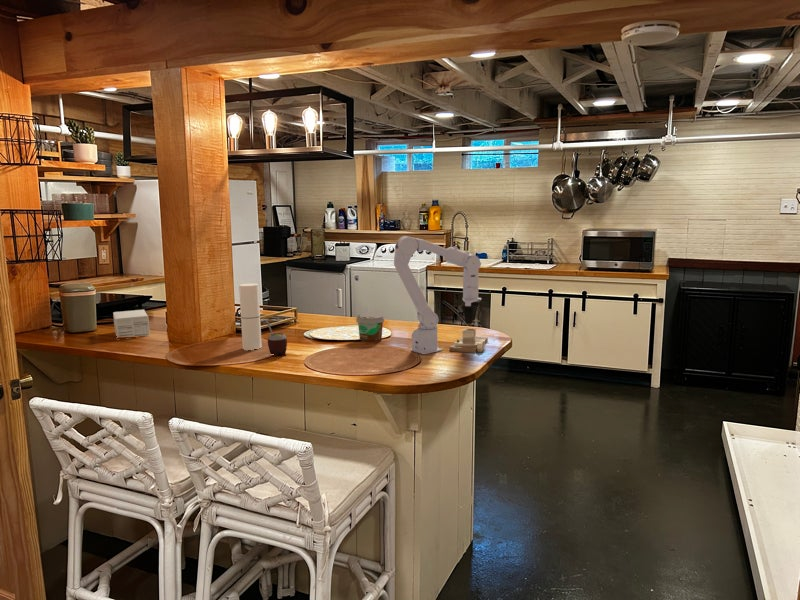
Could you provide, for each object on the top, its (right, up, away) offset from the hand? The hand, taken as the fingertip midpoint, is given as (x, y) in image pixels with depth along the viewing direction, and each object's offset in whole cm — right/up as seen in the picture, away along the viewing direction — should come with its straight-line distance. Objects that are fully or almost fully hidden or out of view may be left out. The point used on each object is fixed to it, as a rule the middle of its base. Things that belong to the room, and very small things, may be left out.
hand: (470, 321), depth 221 cm
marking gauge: (0, -10, -1) cm, 10 cm away
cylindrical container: (-84, -11, +6) cm, 85 cm away
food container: (-40, -9, +16) cm, 44 cm away
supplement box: (-144, -7, +35) cm, 149 cm away
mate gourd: (-72, -13, -6) cm, 74 cm away
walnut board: (0, -10, +6) cm, 11 cm away
